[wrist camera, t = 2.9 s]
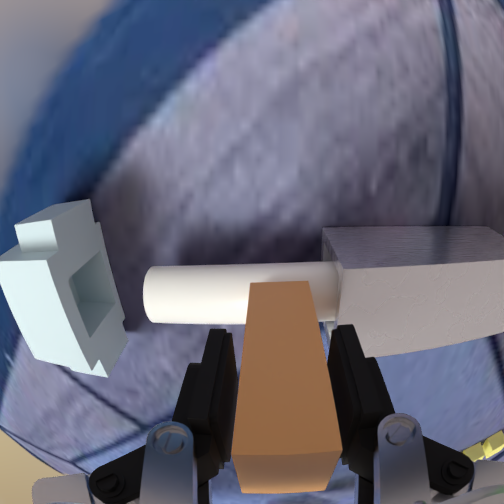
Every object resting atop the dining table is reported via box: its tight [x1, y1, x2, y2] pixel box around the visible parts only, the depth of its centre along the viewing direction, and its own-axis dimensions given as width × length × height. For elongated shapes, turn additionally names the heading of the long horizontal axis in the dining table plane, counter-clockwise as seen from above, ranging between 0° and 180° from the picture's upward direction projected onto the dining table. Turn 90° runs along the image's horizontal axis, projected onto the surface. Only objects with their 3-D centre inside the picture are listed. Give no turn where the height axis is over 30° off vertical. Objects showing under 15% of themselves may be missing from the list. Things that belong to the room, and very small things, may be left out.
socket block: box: [0, 199, 128, 377], centre depth 15 cm, size 10×5×6 cm, turn 3°
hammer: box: [143, 261, 343, 493], centre depth 11 cm, size 3×20×11 cm, turn 93°
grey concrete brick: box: [321, 226, 504, 358], centre depth 14 cm, size 5×12×5 cm, turn 93°
